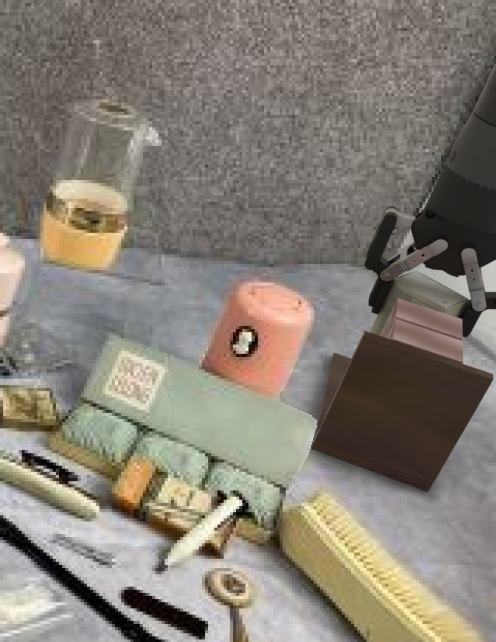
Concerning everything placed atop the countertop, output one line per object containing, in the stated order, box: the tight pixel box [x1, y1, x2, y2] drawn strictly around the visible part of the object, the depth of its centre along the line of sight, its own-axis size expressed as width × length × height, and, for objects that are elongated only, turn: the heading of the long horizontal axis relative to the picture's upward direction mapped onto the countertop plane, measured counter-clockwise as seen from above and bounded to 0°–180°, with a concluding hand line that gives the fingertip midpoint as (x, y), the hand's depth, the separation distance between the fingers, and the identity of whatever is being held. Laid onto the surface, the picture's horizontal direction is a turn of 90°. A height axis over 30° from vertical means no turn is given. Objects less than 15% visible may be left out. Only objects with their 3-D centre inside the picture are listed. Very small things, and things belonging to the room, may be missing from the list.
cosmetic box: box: [369, 270, 469, 336], centre depth 95 cm, size 6×4×12 cm
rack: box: [311, 298, 494, 492], centre depth 91 cm, size 18×11×13 cm, turn 158°
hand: (414, 323), depth 94 cm, fingers closed on cosmetic box, 7 cm apart
